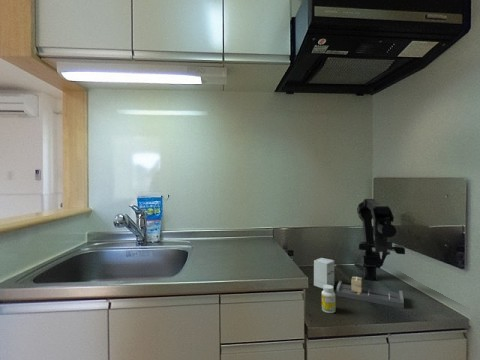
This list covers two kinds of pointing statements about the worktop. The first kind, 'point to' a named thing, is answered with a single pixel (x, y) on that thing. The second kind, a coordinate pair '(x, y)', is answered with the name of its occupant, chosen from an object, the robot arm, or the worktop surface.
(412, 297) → the worktop surface
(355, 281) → the fader knob
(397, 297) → the fader console
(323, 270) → the supplement box
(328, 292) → the supplement bottle
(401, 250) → the robot arm
